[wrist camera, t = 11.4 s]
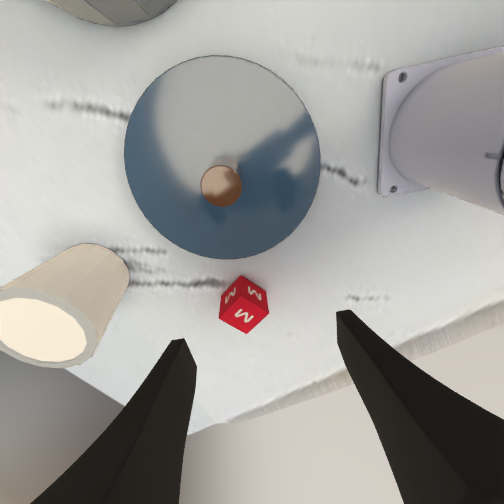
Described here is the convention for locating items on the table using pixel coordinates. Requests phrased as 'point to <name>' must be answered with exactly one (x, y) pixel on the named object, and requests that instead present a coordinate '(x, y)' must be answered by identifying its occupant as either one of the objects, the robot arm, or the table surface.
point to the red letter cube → (243, 305)
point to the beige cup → (62, 306)
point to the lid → (222, 157)
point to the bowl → (114, 10)
